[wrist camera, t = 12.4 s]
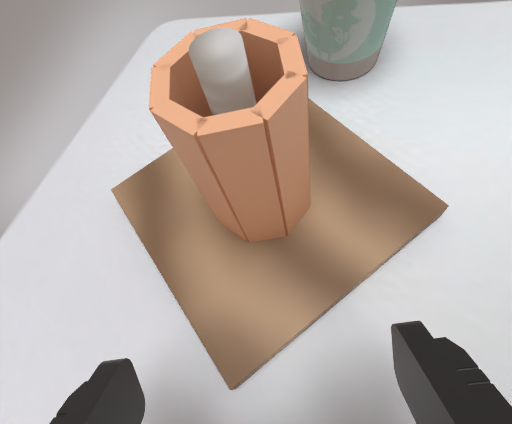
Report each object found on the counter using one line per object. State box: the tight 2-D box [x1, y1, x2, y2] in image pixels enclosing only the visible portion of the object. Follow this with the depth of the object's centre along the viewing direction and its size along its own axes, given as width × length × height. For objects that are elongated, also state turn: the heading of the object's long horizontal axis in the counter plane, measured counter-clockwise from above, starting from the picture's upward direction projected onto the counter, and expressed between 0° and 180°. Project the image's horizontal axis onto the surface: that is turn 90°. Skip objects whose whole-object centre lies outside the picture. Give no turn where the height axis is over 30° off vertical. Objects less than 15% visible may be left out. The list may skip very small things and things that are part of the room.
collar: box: [149, 18, 310, 243], centre depth 17 cm, size 6×6×10 cm
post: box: [111, 27, 449, 390], centre depth 17 cm, size 16×16×12 cm
